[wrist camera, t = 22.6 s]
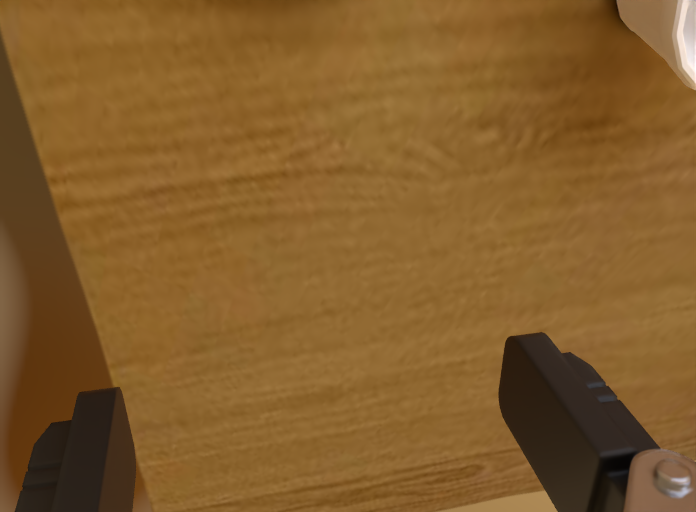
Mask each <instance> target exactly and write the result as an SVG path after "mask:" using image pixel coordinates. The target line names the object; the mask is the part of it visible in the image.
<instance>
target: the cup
mask: <svg viewBox="0 0 696 512" xmlns="http://www.w3.org/2000/svg"><path fill="white" fill-rule="evenodd" d="M616 2H617V6H618V11H619V15H620V18H621V19H622V21H623V22H624V23H625V24H626V26H627V27H628V28H629V29H630V30H631V31H633V32H635V33H636V34H637V35H638V36H639V37H640V38H641V39H642V40H644V41H645V42H646V43H647V44H648V45H649V46H650V47H651V48H652V49H653V50H655V51H656V52H657V53H658V54H659V55H660V56H661V57H662V58H663V59H664V60H666V61H667V64H668V65H669V66H670V68H671V69H672V70H673V71H674V72H675V73H676V75H677V76H678V77H679V78H680V79H681V81H682V82H683V83H684V84H685V85H686V86H687V87H689V88H691V89H693V90H696V0H616Z"/></svg>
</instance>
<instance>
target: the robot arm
mask: <svg viewBox="0 0 696 512" xmlns="http://www.w3.org/2000/svg"><path fill="white" fill-rule="evenodd" d="M499 405H500V409H501V413H502V416H503V418H504V420H505V422H506V424H507V426H508V427H509V429H510V431H511V432H512V434H513V436H514V438H515V439H516V441H517V443H518V444H519V446H520V448H521V450H522V451H523V453H524V455H525V456H526V458H527V460H528V462H529V463H530V465H531V467H532V468H533V470H534V472H535V473H536V475H537V477H538V479H539V480H540V482H541V484H542V485H543V487H544V489H545V491H546V492H547V494H548V496H549V497H550V499H551V501H552V503H553V504H554V506H555V508H556V509H557V511H558V512H696V462H695V461H693V460H692V459H690V458H688V457H686V456H684V455H682V454H679V453H677V452H674V451H669V450H664V449H660V447H659V446H658V445H657V444H656V443H655V441H654V440H653V439H652V438H651V437H650V435H649V434H648V433H647V432H646V431H645V429H644V428H643V427H642V426H641V425H640V423H639V422H638V421H637V420H636V419H635V417H634V416H633V415H632V414H631V413H630V411H629V410H628V409H627V408H626V407H625V405H624V404H623V403H622V402H621V401H620V400H617V396H616V395H615V393H614V392H613V391H612V390H611V389H610V387H609V386H606V384H605V381H604V380H603V379H602V378H601V377H600V375H599V374H598V373H597V372H596V371H595V369H594V368H593V367H592V366H591V365H589V364H588V363H586V362H585V361H583V360H582V359H580V358H578V357H577V356H575V355H574V354H572V353H571V352H568V353H561V352H560V351H559V349H558V348H557V347H556V346H555V344H554V343H553V342H552V341H551V339H550V338H549V337H548V336H547V335H546V334H545V333H543V332H540V333H532V334H525V335H517V336H510V337H508V338H507V340H506V343H505V348H504V355H503V363H502V370H501V378H500V385H499ZM135 478H136V459H135V449H134V443H133V439H132V434H131V430H130V425H129V421H128V416H127V412H126V407H125V403H124V398H123V394H122V391H121V389H120V387H115V388H107V389H99V390H92V391H84V392H80V393H79V394H78V396H77V400H76V404H75V409H74V413H73V417H72V420H69V421H63V422H55V423H51V424H50V426H49V427H48V428H47V429H46V431H45V432H44V433H43V434H42V435H41V437H40V438H39V439H38V440H37V442H36V443H35V444H34V447H33V451H32V454H31V458H30V461H29V464H28V472H26V475H25V478H24V482H23V486H22V487H23V490H22V491H21V492H20V496H19V499H18V503H17V506H16V510H15V512H132V508H133V498H134V488H135Z"/></svg>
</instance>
